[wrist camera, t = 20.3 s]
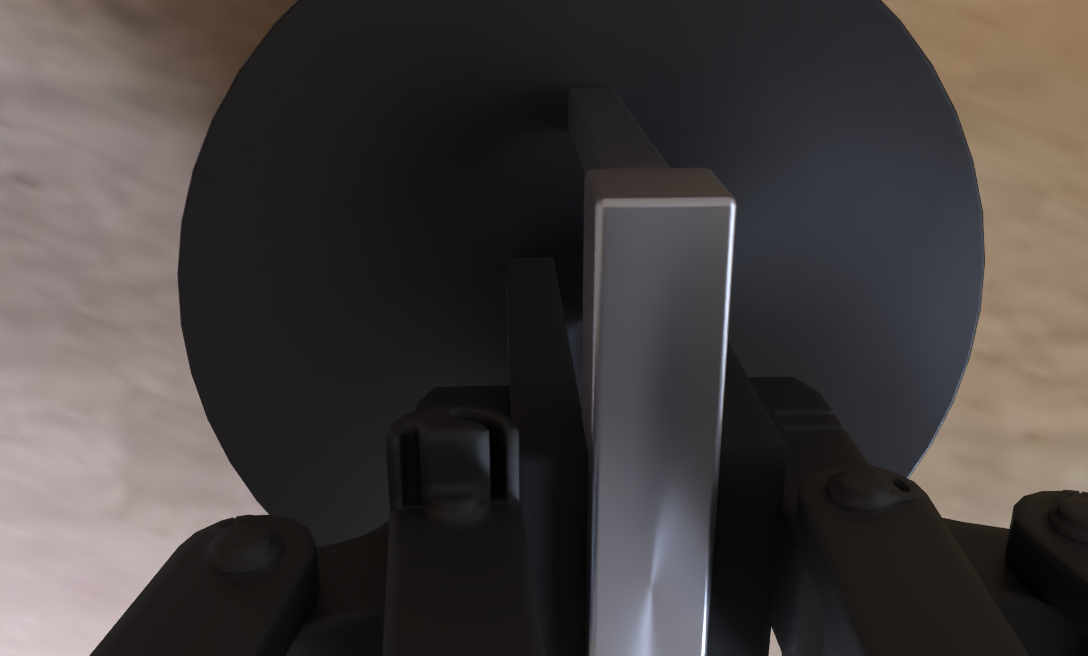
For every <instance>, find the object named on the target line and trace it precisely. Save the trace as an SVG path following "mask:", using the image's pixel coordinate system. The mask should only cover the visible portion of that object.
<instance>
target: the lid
mask: <svg viewBox="0 0 1088 656" xmlns="http://www.w3.org/2000/svg"><path fill="white" fill-rule="evenodd" d="M506 257H554V262H555V268H556V273H557V278H558V284H559V289H560V295H561V300H562V306H563V311H564V317H565V322H566V328H567V333H568V339H569V344H570V350H571V355H572V361H573V366H574V372H575V377H576V383H577V388H578V394H579V399H580V405H581V410H582V413H581V417H582V422H583V428H584V433H585V439H586V444H587V450H588V487H587V555H586V622H585V656H707V646H708V631H709V616H710V601H711V586H712V571H713V556H714V541H715V526H716V511H717V496H718V481H719V466H720V451H721V436H722V421H723V406H724V391H725V376H726V361H727V346H728V342H729V344H730V346H731V348H732V349H733V351H734V353H735V355H736V357H737V358H738V360H739V362H740V364H741V366H742V367H743V369H744V371H745V373H746V374H747V376H748V378H750V377H795V378H796V379H798V380H800V381H801V382H803V383H805V384H806V385H808V386H810V387H811V388H813V389H815V390H816V391H818V392H820V394H821V395H822V397H823V398H824V400H825V401H826V402H827V404H828V405H829V407H830V408H831V410H832V414H833V415H836V417H837V418H838V420H839V421H840V423H841V424H842V425H843V430H846V431H847V433H848V434H849V435H850V437H851V438H852V440H853V441H854V443H855V444H856V446H857V447H858V448H859V450H860V451H861V453H862V454H863V456H864V457H865V459H866V460H867V461H868V463H869V464H870V465H871V466H875V467H879V468H882V469H886V470H889V471H893V472H896V473H898V474H900V475H902V476H904V477H906V478H907V479H909V477H910V476H911V474H912V473H913V471H914V470H915V468H916V467H917V465H918V464H919V462H920V461H921V460H922V458H923V457H924V455H925V454H926V452H927V451H928V449H929V448H930V446H931V445H932V443H933V441H934V439H935V437H936V435H937V433H938V431H939V429H940V427H941V425H942V423H943V422H944V420H945V418H946V416H947V414H948V412H949V410H950V408H951V406H952V404H953V402H954V399H955V396H956V394H957V391H958V388H959V386H960V383H961V380H962V377H963V375H964V372H965V369H966V367H967V364H968V361H969V358H970V354H971V350H972V346H973V341H974V337H975V332H976V328H977V324H978V319H979V315H980V310H981V299H982V288H983V277H984V266H985V252H984V230H983V210H982V205H981V199H980V194H979V189H978V184H977V178H976V173H975V168H974V162H973V159H972V156H971V153H970V150H969V147H968V144H967V141H966V138H965V135H964V132H963V129H962V126H961V123H960V120H959V118H958V115H957V112H956V110H955V108H954V106H953V104H952V102H951V100H950V98H949V96H948V94H947V92H946V90H945V88H944V86H943V84H942V82H941V80H940V79H939V77H938V75H937V73H936V71H935V69H934V67H933V65H932V63H931V62H930V61H929V59H928V58H927V56H926V55H925V54H924V52H923V51H922V49H921V48H920V47H919V45H918V44H917V42H916V41H915V40H914V38H913V37H912V35H911V34H910V33H909V31H908V30H907V29H906V27H905V26H904V24H903V23H902V22H901V20H900V19H899V18H898V17H897V16H896V15H895V14H894V13H893V12H892V11H891V10H890V9H889V8H888V7H887V6H886V5H885V4H884V3H883V2H882V1H881V0H298V1H297V2H296V3H295V4H294V5H293V6H292V7H291V8H290V9H289V10H288V11H287V12H286V13H285V14H284V15H283V16H282V17H281V18H280V19H278V20H277V21H276V22H275V23H274V24H273V26H272V27H271V28H270V30H269V31H268V32H267V34H266V35H265V36H264V38H263V39H262V40H261V42H260V43H259V44H258V46H257V47H256V48H255V50H254V51H253V52H252V54H251V55H250V56H249V58H248V59H247V60H246V61H245V63H244V64H243V65H242V67H241V68H240V69H239V71H238V73H237V75H236V76H235V78H234V80H233V82H232V84H231V86H230V87H229V89H228V91H227V93H226V95H225V96H224V98H223V100H222V102H221V104H220V105H219V107H218V109H217V111H216V113H215V114H214V116H213V118H212V120H211V123H210V126H209V128H208V131H207V134H206V136H205V139H204V142H203V144H202V147H201V150H200V152H199V155H198V157H197V160H196V163H195V165H194V168H193V171H192V176H191V180H190V185H189V189H188V194H187V198H186V203H185V208H184V212H183V217H182V221H181V233H180V246H179V260H178V273H177V274H178V289H179V304H180V319H181V327H182V332H183V337H184V342H185V346H186V351H187V356H188V361H189V365H190V370H191V374H192V377H193V380H194V382H195V385H196V388H197V391H198V394H199V396H200V399H201V402H202V405H203V408H204V410H205V413H206V416H207V419H208V421H209V423H210V425H211V427H212V429H213V431H214V432H215V434H216V436H217V438H218V440H219V442H220V444H221V446H222V448H223V450H224V452H225V454H226V456H227V458H228V459H229V461H230V463H231V465H232V466H233V467H234V469H235V470H236V472H237V473H238V475H239V476H240V477H241V479H242V480H243V482H244V483H245V485H246V486H247V487H248V489H249V490H250V492H251V493H252V495H253V496H254V497H255V499H256V500H257V502H258V503H259V504H260V505H261V506H262V507H263V508H264V509H265V510H266V511H267V513H268V514H269V515H274V516H279V517H284V518H289V519H293V520H295V521H297V522H299V523H300V524H302V525H304V526H306V527H307V528H309V530H310V532H311V534H312V536H313V537H314V539H315V541H316V548H317V547H322V546H326V545H331V544H336V543H340V542H344V541H347V540H351V539H354V538H358V537H360V536H363V535H365V534H367V533H369V532H371V531H374V530H376V529H377V528H379V527H380V526H382V525H383V524H385V523H386V522H388V521H389V516H390V504H389V488H388V473H387V457H386V442H385V436H386V434H387V432H388V430H389V428H390V426H391V424H393V423H394V422H396V421H397V420H399V419H400V418H402V417H403V416H404V415H406V414H409V413H412V412H415V411H416V406H417V403H418V402H420V401H421V400H422V399H423V398H424V397H425V396H426V395H427V394H428V393H429V392H430V391H431V390H432V389H433V388H435V387H455V386H502V385H508V366H507V304H506Z"/></svg>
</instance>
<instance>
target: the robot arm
mask: <svg viewBox="0 0 1088 656" xmlns="http://www.w3.org/2000/svg"><path fill="white" fill-rule="evenodd" d="M506 304H507V366H508V385H502V386H455V387H435V388H433V389H432V390H431V391H430V392H429V393H428V394H427V395H426V396H425V397H424V398H423V399H422V400H421V401H420V402H418V403H417V406H416V411H415V412H412V413H409V414H406V415H404V416H403V417H402V418H400V419H399V420H397V421H396V422H394V423H393V424H391V426H390V428H389V430H388V432H387V434H386V436H385V442H386V457H387V473H388V488H389V504H390V516H389V521H388V522H386V523H385V524H383V525H382V526H380V527H379V528H377V529H376V530H374V531H371V532H369V533H367V534H365V535H363V536H360V537H358V538H354V539H351V540H347V541H344V542H340V543H336V544H331V545H326V546H322V547H317V548H316V541H315V539H314V537H313V536H312V534H311V532H310V530H309V528H307V527H306V526H304V525H302V524H300V523H299V522H297V521H295V520H293V519H289V518H284V517H279V516H274V515H244V516H237V517H236V518H233V517H232V518H229V519H226V520H222V521H220V522H217V523H215V524H213V525H211V526H209V527H206V528H204V529H202V530H200V531H198V532H196V533H194V534H193V535H192V536H191V537H190V538H188V539H187V540H186V541H185V542H184V543H182V544H181V545H180V546H179V547H178V548H177V549H176V551H175V552H174V553H173V554H172V555H171V557H170V558H169V559H168V560H167V562H166V563H165V564H164V565H163V567H162V568H161V569H160V570H159V571H158V573H157V574H156V575H155V576H154V578H153V579H152V580H151V581H150V582H149V584H148V585H147V586H146V587H145V589H144V590H143V591H142V592H141V593H140V595H139V596H138V597H137V598H136V600H135V601H134V602H133V603H132V604H131V606H130V607H129V608H128V609H127V611H126V612H125V613H124V614H123V615H122V617H121V618H120V619H119V620H118V622H117V623H116V624H115V625H114V626H113V628H112V629H111V630H110V631H109V633H108V634H107V635H106V636H105V637H104V639H103V640H102V641H101V642H100V644H99V645H98V646H97V647H96V648H95V650H94V651H93V652H92V653H91V655H90V656H585V622H586V555H587V487H588V450H587V444H586V439H585V433H584V428H583V422H582V417H581V413H582V410H581V405H580V399H579V394H578V388H577V383H576V377H575V372H574V366H573V361H572V355H571V350H570V344H569V339H568V333H567V328H566V322H565V317H564V311H563V306H562V300H561V295H560V289H559V284H558V278H557V273H556V268H555V262H554V257H506ZM771 626H772V629H773V631H774V634H775V636H776V639H777V641H778V644H779V646H780V649H781V651H782V656H1088V493H1087V492H1082V493H1079V491H1072V490H1063V491H1041V492H1038V493H1034V494H1030V495H1027V496H1024V497H1023V498H1021V499H1020V500H1019V501H1018V502H1017V503H1016V504H1015V505H1014V508H1013V514H1012V519H1011V524H1010V529H1006V528H999V527H993V526H986V525H979V524H972V523H966V522H960V521H955V520H951V519H946V518H942V517H941V516H940V514H939V512H938V511H937V509H936V508H935V506H934V504H933V503H932V501H931V500H930V498H929V497H928V495H927V494H926V493H925V492H924V491H923V490H922V489H921V488H920V487H919V486H918V485H917V484H916V483H915V482H913V481H911V480H909V479H907V478H906V477H904V476H902V475H900V474H898V473H896V472H893V471H889V470H886V469H882V468H879V467H875V466H871V465H870V464H869V463H868V461H867V460H866V459H865V457H864V456H863V454H862V453H861V451H860V450H859V448H858V447H857V446H856V444H855V443H854V441H853V440H852V438H851V437H850V435H849V434H848V433H847V431H846V430H843V425H842V424H841V423H840V421H839V420H838V418H837V417H836V415H833V414H832V410H831V408H830V407H829V405H828V404H827V402H826V401H825V400H824V398H823V397H822V395H821V394H820V392H818V391H816V390H815V389H813V388H811V387H810V386H808V385H806V384H805V383H803V382H801V381H800V380H798V379H796V378H795V377H750V378H748V376H747V374H746V373H745V371H744V369H743V367H742V366H741V364H740V362H739V360H738V358H737V357H736V355H735V353H734V351H733V349H732V348H731V346H730V344H729V342H728V346H727V361H726V376H725V391H724V406H723V421H722V436H721V451H720V466H719V481H718V496H717V511H716V526H715V541H714V556H713V571H712V586H711V601H710V616H709V631H708V646H707V656H768V654H769V644H770V633H771Z"/></svg>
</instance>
